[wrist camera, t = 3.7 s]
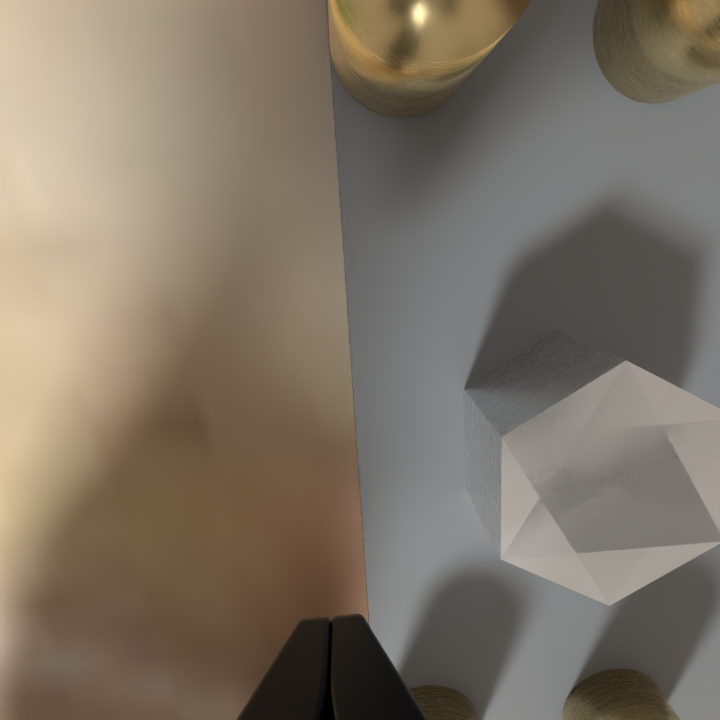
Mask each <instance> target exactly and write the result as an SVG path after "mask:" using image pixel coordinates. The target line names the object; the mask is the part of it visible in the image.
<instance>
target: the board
mask: <svg viewBox="0 0 720 720" xmlns="http://www.w3.org/2000/svg"><path fill="white" fill-rule="evenodd" d="M598 1H599V0H531V1H530V3H529V5H528V6H527V8H526V9H525V11H524V12H523V13H522V15H521V16H520V17H519V19H518V20H517V21H516V23H515V24H514V25H513V26H512V27H511V28H510V29H509V31H508V32H507V33H506V34H505V35H504V36H503V37H502V39H501V40H500V41H499V42H498V43H497V44H496V45H495V47H494V48H493V49H492V50H491V51H490V52H489V53H488V55H487V56H486V57H485V58H484V59H483V60H482V62H481V63H480V64H479V65H478V66H477V67H476V68H475V70H474V71H473V72H472V73H471V74H470V75H469V76H468V78H467V79H466V80H465V81H464V82H463V83H462V84H461V86H460V87H459V88H458V89H457V90H456V91H455V92H454V94H453V95H452V96H451V97H450V98H449V99H448V100H447V101H446V102H444V103H443V104H442V105H441V106H439V107H438V108H436V109H434V110H433V111H431V112H429V113H426V114H424V115H421V116H417V117H413V118H406V119H397V118H390V117H385V116H382V115H378V114H376V113H374V112H372V111H370V110H368V109H367V108H365V107H363V106H362V105H361V104H359V103H358V102H357V101H356V100H355V99H354V98H353V97H352V96H351V95H350V94H349V93H348V92H347V90H346V89H345V87H344V86H343V84H342V83H341V81H340V79H339V77H338V75H337V73H336V70H335V67H334V65H333V61H332V57H331V51H330V61H331V76H332V90H333V105H334V119H335V134H336V149H337V163H338V178H339V192H340V207H341V221H342V236H343V251H344V265H345V280H346V294H347V309H348V323H349V338H350V353H351V367H352V382H353V396H354V411H355V426H356V440H357V455H358V469H359V484H360V498H361V513H362V528H363V542H364V557H365V571H366V586H367V600H368V615H369V626H370V628H371V629H372V631H373V633H374V634H375V636H376V637H377V639H378V641H379V642H380V644H381V645H382V647H383V649H384V650H385V652H386V654H387V655H388V657H389V658H390V660H391V662H392V663H393V665H394V666H395V668H396V670H397V671H398V673H399V674H400V676H401V678H402V679H403V681H404V683H405V684H406V686H407V687H408V689H411V688H415V687H419V686H426V685H437V686H444V687H448V688H451V689H454V690H456V691H458V692H460V693H461V694H463V695H464V696H465V697H467V698H468V699H469V700H470V702H471V703H472V704H473V706H474V708H475V710H476V712H477V716H478V719H479V720H562V711H563V707H564V703H565V701H566V699H567V697H568V696H569V694H570V693H571V692H572V690H573V689H574V688H575V687H576V686H577V685H578V684H579V683H581V682H582V681H583V680H585V679H586V678H588V677H590V676H592V675H594V674H596V673H599V672H602V671H606V670H611V669H630V670H635V671H638V672H640V673H642V674H644V675H646V676H648V677H649V678H650V679H651V680H653V681H654V683H655V684H656V685H657V687H658V688H659V689H660V691H661V692H662V694H663V695H664V697H665V698H666V699H667V701H668V702H669V704H670V705H671V707H672V708H673V709H674V711H675V712H676V714H677V715H678V717H679V718H680V720H720V544H718V545H717V546H715V547H713V548H711V549H710V550H708V551H706V552H704V553H702V554H701V555H699V556H697V557H695V558H694V559H692V560H690V561H688V562H686V563H685V564H683V565H681V566H679V567H678V568H676V569H674V570H672V571H670V572H669V573H667V574H665V575H663V576H662V577H660V578H658V579H656V580H654V581H653V582H651V583H649V584H647V585H646V586H644V587H642V588H640V589H638V590H637V591H635V592H633V593H631V594H630V595H628V596H626V597H624V598H622V599H621V600H619V601H617V602H615V603H614V604H612V605H610V606H609V605H606V604H604V603H602V602H599V601H597V600H595V599H592V598H590V597H588V596H585V595H583V594H580V593H578V592H576V591H573V590H571V589H569V588H566V587H564V586H562V585H559V584H557V583H555V582H552V581H550V580H548V579H545V578H543V577H541V576H538V575H536V574H534V573H531V572H529V571H527V570H524V569H522V568H520V567H517V566H515V565H513V564H510V563H508V562H506V561H503V560H501V559H500V557H499V555H498V553H497V551H496V549H495V547H494V545H493V543H492V541H491V539H490V537H489V535H488V533H487V531H486V529H485V527H484V525H483V522H482V520H481V518H480V516H479V514H478V512H477V510H476V508H475V506H474V504H473V502H472V500H471V498H470V496H469V494H468V492H467V490H466V488H465V432H464V389H465V388H466V387H468V386H469V385H471V384H473V383H474V382H476V381H477V380H479V379H480V378H482V377H484V376H485V375H487V374H488V373H490V372H492V371H493V370H495V369H496V368H498V367H499V366H501V365H503V364H504V363H506V362H507V361H509V360H511V359H512V358H514V357H515V356H517V355H518V354H520V353H522V352H523V351H525V350H526V349H528V348H530V347H531V346H533V345H534V344H536V343H538V342H539V341H541V340H542V339H544V338H545V337H547V336H549V335H550V334H552V333H553V332H555V331H557V330H558V329H560V330H562V331H564V332H566V333H568V334H570V335H573V336H575V337H577V338H579V339H581V340H583V341H586V342H588V343H590V344H592V345H594V346H597V347H599V348H601V349H603V350H605V351H607V352H610V353H612V354H614V355H616V356H618V357H620V358H623V359H625V360H627V361H629V362H631V363H632V364H634V365H636V366H638V367H640V368H642V369H644V370H646V371H648V372H650V373H652V374H654V375H656V376H658V377H660V378H662V379H664V380H665V381H667V382H669V383H671V384H673V385H675V386H677V387H679V388H681V389H683V390H685V391H687V392H689V393H691V394H693V395H695V396H697V397H698V398H700V399H702V400H704V401H706V402H708V403H710V404H712V405H714V406H716V407H718V408H720V83H719V84H717V85H714V86H711V87H709V88H706V89H703V90H701V91H698V92H695V93H693V94H690V95H687V96H685V97H682V98H679V99H677V100H674V101H670V102H666V103H659V104H648V103H642V102H638V101H635V100H631V99H629V98H628V97H626V96H624V95H622V94H621V93H619V92H618V91H617V90H616V89H615V88H614V87H613V86H611V85H610V83H609V82H608V81H607V79H606V78H605V77H604V75H603V73H602V71H601V70H600V68H599V65H598V63H597V60H596V56H595V52H594V47H593V20H594V15H595V10H596V7H597V4H598ZM326 3H327V17H328V32H329V15H328V0H326ZM329 47H330V40H329Z"/></svg>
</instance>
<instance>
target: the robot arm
mask: <svg viewBox="0 0 720 720" xmlns="http://www.w3.org/2000/svg"><path fill="white" fill-rule="evenodd" d="M237 720H427V718H426V716H425V715H424V713H423V712H422V710H421V708H420V707H419V705H418V704H417V702H416V700H415V699H414V697H413V695H412V694H411V692H410V691H409V689H408V687H407V686H406V684H405V683H404V681H403V679H402V678H401V676H400V674H399V673H398V671H397V670H396V668H395V666H394V665H393V663H392V662H391V660H390V658H389V657H388V655H387V654H386V652H385V650H384V649H383V647H382V645H381V644H380V642H379V641H378V639H377V637H376V636H375V634H374V633H373V631H372V629H371V628H370V626H369V624H368V623H367V621H366V620H365V618H364V617H363V616H362V615H361V614H349V615H338V616H335V617H334V618H333V619H332V622H331V619H330V618H329V617H314V618H304V619H302V620H300V621H299V623H298V624H297V626H296V627H295V629H294V630H293V632H292V634H291V635H290V637H289V638H288V640H287V641H286V643H285V645H284V646H283V648H282V649H281V651H280V652H279V654H278V656H277V657H276V659H275V660H274V662H273V663H272V665H271V667H270V668H269V670H268V671H267V673H266V674H265V676H264V678H263V679H262V681H261V682H260V684H259V685H258V687H257V689H256V690H255V692H254V693H253V695H252V696H251V698H250V700H249V701H248V703H247V704H246V706H245V707H244V709H243V711H242V712H241V714H240V715H239V717H238V718H237Z"/></svg>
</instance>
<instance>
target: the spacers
mask: <svg viewBox="0 0 720 720" xmlns="http://www.w3.org/2000/svg"><path fill="white" fill-rule="evenodd" d="M530 1H531V0H328V15H329V40H330V51H331V57H332V61H333V65H334V67H335V70H336V73H337V75H338V77H339V79H340V81H341V83H342V84H343V86H344V87H345V89H346V90H347V92H348V93H349V94H350V95H351V96H352V97H353V98H354V99H355V100H356V101H357V102H358V103H359V104H361V105H362V106H363V107H365V108H367V109H368V110H370V111H372V112H374V113H376V114H378V115H382V116H385V117H390V118H397V119H406V118H413V117H417V116H421V115H424V114H426V113H429V112H431V111H433V110H434V109H436V108H438V107H439V106H441V105H442V104H443V103H444V102H446V101H447V100H448V99H449V98H450V97H451V96H452V95H453V94H454V92H455V91H456V90H457V89H458V88H459V87H460V86H461V84H462V83H463V82H464V81H465V80H466V79H467V78H468V76H469V75H470V74H471V73H472V72H473V71H474V70H475V68H476V67H477V66H478V65H479V64H480V63H481V62H482V60H483V59H484V58H485V57H486V56H487V55H488V53H489V52H490V51H491V50H492V49H493V48H494V47H495V45H496V44H497V43H498V42H499V41H500V40H501V39H502V37H503V36H504V35H505V34H506V33H507V32H508V31H509V29H510V28H511V27H512V26H513V25H514V24H515V23H516V21H517V20H518V19H519V17H520V16H521V15H522V13H523V12H524V11H525V9H526V8H527V6H528V5H529V3H530ZM593 47H594V52H595V56H596V60H597V63H598V65H599V68H600V70H601V71H602V73H603V75H604V77H605V78H606V79H607V81H608V82H609V83H610V85H611V86H613V87H614V88H615V89H616V90H617V91H618V92H619V93H621V94H622V95H624V96H626V97H628V98H629V99H631V100H635V101H638V102H642V103H648V104H659V103H666V102H670V101H674V100H677V99H679V98H682V97H685V96H687V95H690V94H693V93H695V92H698V91H701V90H703V89H706V88H709V87H711V86H714V85H717V84H719V83H720V0H599V1H598V4H597V7H596V10H595V15H594V20H593ZM409 691H410V692H411V694H412V695H413V697H414V699H415V700H416V702H417V704H418V705H419V707H420V708H421V710H422V712H423V713H424V715H425V716H426V718H427V720H479V719H478V716H477V712H476V710H475V708H474V706H473V704H472V703H471V702H470V700H469V699H468V698H467V697H465V696H464V695H463V694H461V693H460V692H458V691H456V690H454V689H451V688H448V687H444V686H437V685H426V686H419V687H415V688H411V689H409ZM562 720H680V718H679V717H678V715H677V714H676V712H675V711H674V709H673V708H672V707H671V705H670V704H669V702H668V701H667V699H666V698H665V697H664V695H663V694H662V692H661V691H660V689H659V688H658V687H657V685H656V684H655V683H654V681H653V680H651V679H650V678H649V677H648V676H646V675H644V674H642V673H640V672H638V671H635V670H630V669H611V670H606V671H602V672H599V673H596V674H594V675H592V676H590V677H588V678H586V679H585V680H583V681H582V682H581V683H579V684H578V685H577V686H576V687H575V688H574V689H573V690H572V692H571V693H570V694H569V696H568V697H567V699H566V701H565V703H564V707H563V711H562Z"/></svg>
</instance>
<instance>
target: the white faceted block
mask: <svg viewBox="0 0 720 720" xmlns="http://www.w3.org/2000/svg"><path fill="white" fill-rule="evenodd" d="M464 432H465V488H466V490H467V492H468V494H469V496H470V498H471V500H472V502H473V504H474V506H475V508H476V510H477V512H478V514H479V516H480V518H481V520H482V522H483V525H484V527H485V529H486V531H487V533H488V535H489V537H490V539H491V541H492V543H493V545H494V547H495V549H496V551H497V553H498V555H499V557H500V559H501V560H503V561H506V562H508V563H510V564H513V565H515V566H517V567H520V568H522V569H524V570H527V571H529V572H531V573H534V574H536V575H538V576H541V577H543V578H545V579H548V580H550V581H552V582H555V583H557V584H559V585H562V586H564V587H566V588H569V589H571V590H573V591H576V592H578V593H580V594H583V595H585V596H588V597H590V598H592V599H595V600H597V601H599V602H602V603H604V604H606V605H609V606H610V605H612V604H614V603H615V602H617V601H619V600H621V599H622V598H624V597H626V596H628V595H630V594H631V593H633V592H635V591H637V590H638V589H640V588H642V587H644V586H646V585H647V584H649V583H651V582H653V581H654V580H656V579H658V578H660V577H662V576H663V575H665V574H667V573H669V572H670V571H672V570H674V569H676V568H678V567H679V566H681V565H683V564H685V563H686V562H688V561H690V560H692V559H694V558H695V557H697V556H699V555H701V554H702V553H704V552H706V551H708V550H710V549H711V548H713V547H715V546H717V545H718V544H720V408H718V407H716V406H714V405H712V404H710V403H708V402H706V401H704V400H702V399H700V398H698V397H697V396H695V395H693V394H691V393H689V392H687V391H685V390H683V389H681V388H679V387H677V386H675V385H673V384H671V383H669V382H667V381H665V380H664V379H662V378H660V377H658V376H656V375H654V374H652V373H650V372H648V371H646V370H644V369H642V368H640V367H638V366H636V365H634V364H632V363H631V362H629V361H627V360H625V359H623V358H620V357H618V356H616V355H614V354H612V353H610V352H607V351H605V350H603V349H601V348H599V347H597V346H594V345H592V344H590V343H588V342H586V341H583V340H581V339H579V338H577V337H575V336H573V335H570V334H568V333H566V332H564V331H562V330H560V329H558V330H557V331H555V332H553V333H552V334H550V335H549V336H547V337H545V338H544V339H542V340H541V341H539V342H538V343H536V344H534V345H533V346H531V347H530V348H528V349H526V350H525V351H523V352H522V353H520V354H518V355H517V356H515V357H514V358H512V359H511V360H509V361H507V362H506V363H504V364H503V365H501V366H499V367H498V368H496V369H495V370H493V371H492V372H490V373H488V374H487V375H485V376H484V377H482V378H480V379H479V380H477V381H476V382H474V383H473V384H471V385H469V386H468V387H466V388H465V389H464Z"/></svg>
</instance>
